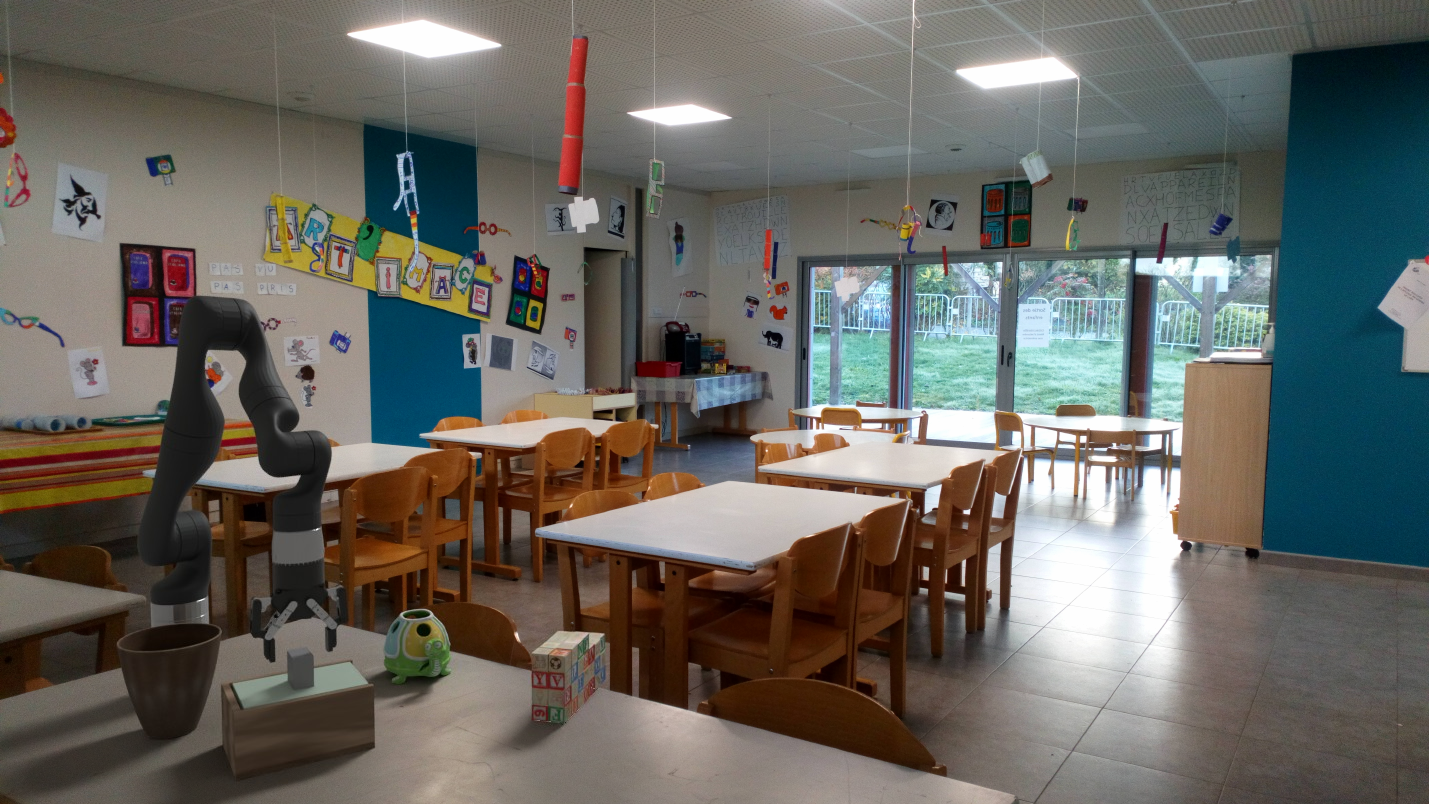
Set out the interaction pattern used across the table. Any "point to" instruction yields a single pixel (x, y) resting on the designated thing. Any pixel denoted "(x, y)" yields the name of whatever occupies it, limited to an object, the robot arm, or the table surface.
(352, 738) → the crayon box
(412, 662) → the turtle holder
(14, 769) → the table surface
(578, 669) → the stack of blocks
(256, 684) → the lid
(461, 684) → the table surface
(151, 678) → the plant pot
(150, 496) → the robot arm
